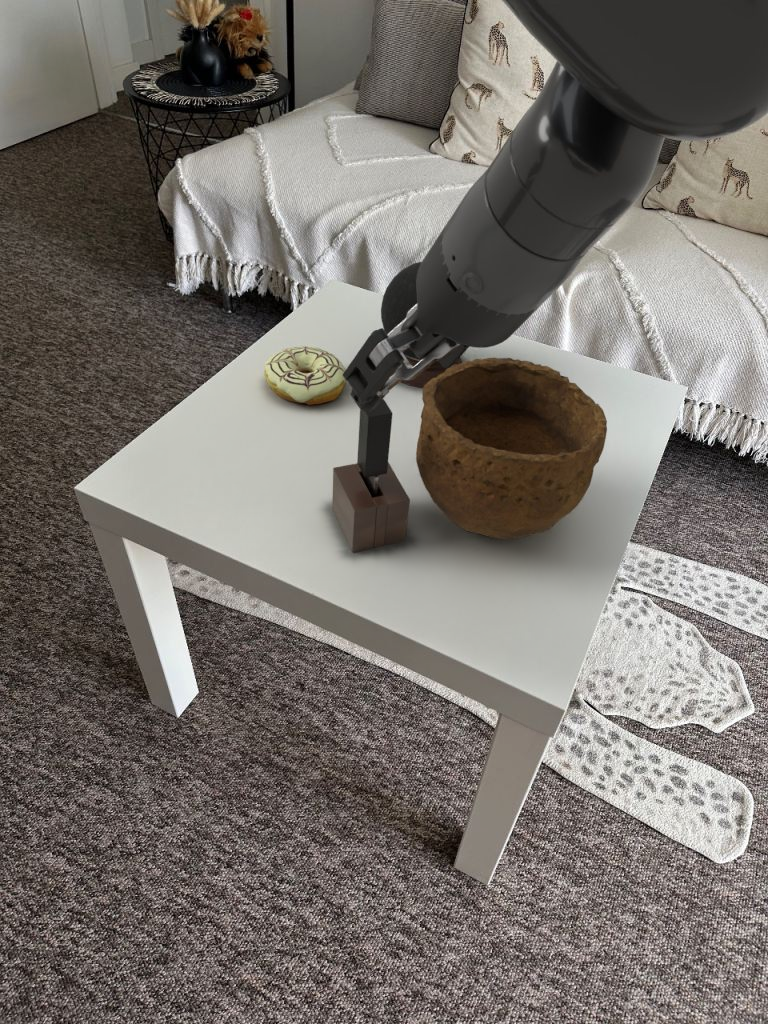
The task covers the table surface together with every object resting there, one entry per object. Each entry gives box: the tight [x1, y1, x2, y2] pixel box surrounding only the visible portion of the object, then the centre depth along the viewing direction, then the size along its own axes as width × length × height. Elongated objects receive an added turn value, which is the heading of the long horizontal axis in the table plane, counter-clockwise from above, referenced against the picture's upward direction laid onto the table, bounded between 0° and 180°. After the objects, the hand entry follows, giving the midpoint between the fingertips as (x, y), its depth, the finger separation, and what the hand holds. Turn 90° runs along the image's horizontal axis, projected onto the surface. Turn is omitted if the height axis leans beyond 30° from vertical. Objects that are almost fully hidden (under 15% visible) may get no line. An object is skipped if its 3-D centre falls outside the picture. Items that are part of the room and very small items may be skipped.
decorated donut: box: [263, 346, 347, 406], centre depth 94 cm, size 10×11×4 cm
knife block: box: [331, 461, 411, 553], centre depth 75 cm, size 6×7×6 cm
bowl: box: [415, 357, 608, 540], centre depth 75 cm, size 19×19×15 cm
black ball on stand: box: [380, 261, 463, 389], centre depth 96 cm, size 13×13×15 cm
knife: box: [356, 398, 393, 498], centre depth 72 cm, size 2×3×16 cm
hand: (402, 379), depth 57 cm, fingers open, 8 cm apart
